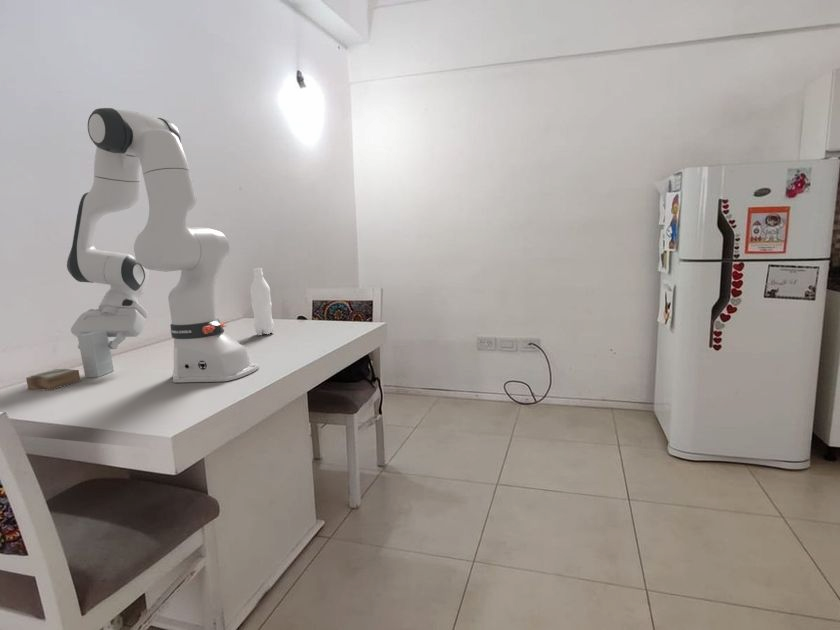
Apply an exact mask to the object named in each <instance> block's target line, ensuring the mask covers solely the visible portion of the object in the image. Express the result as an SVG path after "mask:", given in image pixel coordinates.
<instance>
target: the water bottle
mask: <svg viewBox="0 0 840 630" xmlns="http://www.w3.org/2000/svg"><path fill="white" fill-rule="evenodd" d="M252 271H253V280H252V283H251V286H250V289H249V292H250V299H251V309H252V312H253V317H254V319H253V320H254V323H253V328H254V332H255V333H256V335H258V336H259V335H261V336H263V334H269V335H271V334H270V333H272V332H273V333H274V329H275V323H274V320H273V315H272V306H273V304H272V297H271V296H272V295H271V288H270V285H269V284H268V282H267V281H266V279H265V278H264V272H263V268H262V267H257V268H256V267H254V268H253V270H252ZM273 333H272V334H273Z"/></svg>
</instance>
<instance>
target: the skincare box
mask: <svg viewBox="0 0 840 630" xmlns="http://www.w3.org/2000/svg"><path fill="white" fill-rule="evenodd" d="M77 340H78V344H79V347H80V349H79V350H80V351H79V352H80V355H81V361H82V366H83V367H82V368H83V373H84V377H85V378H99V377H102V376H105V375H107V374H110V373H112V372H114V371H115V369H114V364H113V358H112V352H111V349H110V348H109V347H108V344H109V342H110V341H109V337H108V335H107V331H93V332H90V333H86V334H82V335H78V337H77Z"/></svg>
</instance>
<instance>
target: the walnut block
mask: <svg viewBox="0 0 840 630" xmlns="http://www.w3.org/2000/svg"><path fill="white" fill-rule="evenodd" d="M25 379H26V384H27V388H28V390H39V389H44V391H52V390H55V389H54V388H56V389H58V388H57V387H59V388H61V387H60V386H62V387H65V386H67V384H69V385H71V383H72V384H75V383H78V382H81V375H80V371H79V369H71V368H70V369H69V368H68V369H67V368H66V369H64V368H63V369H62V368H55V369H51V370H48V371H43V372H40V373H36V374H33V375H30V376H28V377H26V378H25ZM74 382H75V383H74ZM64 385H65V386H64ZM51 389H52V390H51Z"/></svg>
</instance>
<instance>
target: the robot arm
mask: <svg viewBox="0 0 840 630" xmlns="http://www.w3.org/2000/svg"><path fill="white" fill-rule="evenodd" d="M87 133H88V136H89V138H90V140H91V141H92V142H93V144H94V145H95V146H96V150H95V154H94V163H93V183H92V186H91V188H90V190H89V192H84V194H82V195H81V199H80V201H79V204H78V209H77V213H76V220H75V227H74V232H73V237H72V238H73V239H72V243H71V248H70V251H69V254H68V258H67V260H66V268H67V271H68V273H69V274H70V275H71V277H72V278H73V279H74V280H76V281H77V282H78V283H79V282H80V283H92V284H93V283H96V284H100V285H101V284H103V285H109V286H110V288H109V290H108V291H107V292H106V293H105V294H104V296H103V298H102V299H101V301H100V304H99V305H98V307H97V308H96V309H95V308H92V309H91V308H90V309H88V310H87V311H84V312H82V313H81V314H80V315H79V316H78V318H77V319H76V320H75V322H74V323H73V324H72V326H71V327H70V332H71V333H72V334H73V336H75V337H77V338H78V335H82V334H86V333H90V332H93V331H107V335H108V338H114V339H112V340H110V341H109V344H108V347H109V348H110V350H117V348H118V347H119V345H120V344H121V343H122V342H124V341H125V340H126V338H128V337H129V338H130V337H131V338H133V337H137V336H139V335H141V333H142V331H143V329H144V327H145V325H146V321H147V320H146V319H147V318H148V316H149V312H148V311H147V309H146V308H144V307H143V305H141V303H140V302H139V299H141V298H142V297H143V294H144V292H145V290H146V288H147V285H148V283H149V279H150V271H157V272H163V273H164V272H177V271H181V272H180V276H179V281H178V283H176V286H174V287H173V288H172V289H171V290H170V291H169V294H168V297H167V298H168V299H167V300H168V306H169V313H170V321H171V324H170V334H171V338H172V339H173V370H172V376H171V377H172V383H210V382H212V383H215V382H229V381H232V380H233V381H234V380H237V379H240V378H242V377H245V376H247V375H250V374H252V373H255V372H256V371H257V370H259V368H260V366H259V363H254V362H250V358H249V354H248V351H247V348H246V347H245V346H244V345H242V344H240V343H239V342H238V341H237V340H235V339H233V338H232V337H231V336H230V335H228V334H227V333H225V329H224V328H225V327H227V325H226V324H227V322H222V323H221V321H220V320H219V318H218V317H217V315H218V314H217V309H216V296H215V288H216V282H217V278H218V274H219V271H220V268H221V267H222V265H223V264H224V263H225V262H226V260H227V259H228V258H229V254H230V244H229V240H228V238H227V237H226V235H225V234H224V233H223V232H221V231H219V230H218V229H217V230H216V229H214V228H209V227H205V226H202V227H201V226H200V227H199V226H198V227H196V226H195V227H189V226H188V225H187V217H188V212H189V211H190V210H192V209H193V208H195V206H196V204H197V194H196V189H195V185H194V181H193V179H192V178H193V176H192V174H191V168H190V164H189V161H188V159H187V158H188V157H187V156H186V152H185V151H184V148H183V145H182V140H181V134H180V131H179V128H178V127H177V126H176V125H175V124H174V123H173V122H171V121H169V120H167V119H165V118H161V117H154V116H151V115H148V114H145V113H140V112H137V111H133V110H125V109H115V108H113V107H100V108H95V109H94V110H93V111H92V112H91V113H90V115H89V117H88V121H87ZM141 172H142V173H141ZM141 174H142V176H143V180H144V186H145V189H146V194H147V198H148V199H147V200H148V205H149V206H148V218H147V220H146V221H147V223H146V225H145V227H144V228H143V229H142V231H141V232H139V234H138V235H137V236H136V238H135V240H134V245H133V253H134V255H133V254H128V253H124V252H118V251H109V250H102V249H97V248H96V247H95V242H96V236H97V230H98V225H99V221H100V219H101V218H102V217H103V216H105V215H107V214H112V213H115V212H116V213H117V212H121V211H125V210H129V209H130V208H132V207H134V206H135V205H136V204H137V202H138V201H139V199H140V197H141V192H142V191H141V189H142V182H141V181H142V178H141V177H142V176H141ZM77 349H79V350H80V347H79V343H78V344H77Z"/></svg>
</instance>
